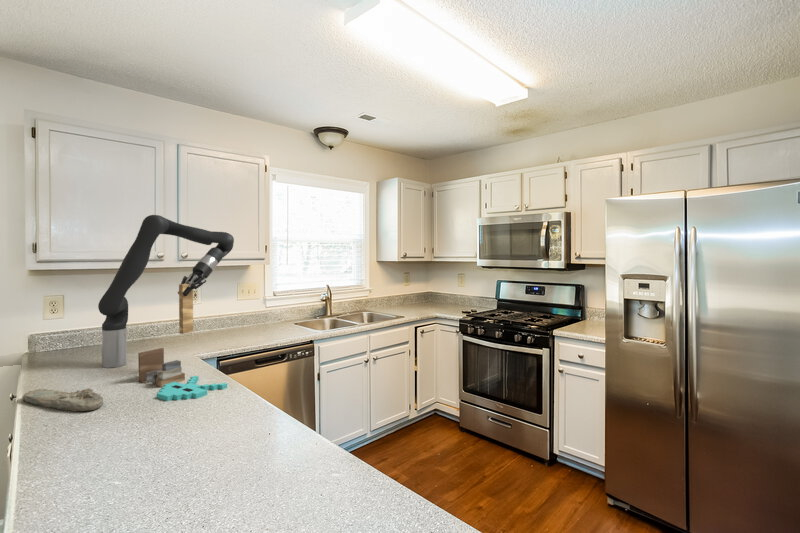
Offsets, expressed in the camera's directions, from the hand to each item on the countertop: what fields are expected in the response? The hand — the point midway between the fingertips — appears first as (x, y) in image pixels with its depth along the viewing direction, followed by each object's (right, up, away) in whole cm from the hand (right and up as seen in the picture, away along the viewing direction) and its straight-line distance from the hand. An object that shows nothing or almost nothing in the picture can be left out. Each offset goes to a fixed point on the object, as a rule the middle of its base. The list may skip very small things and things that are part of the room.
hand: (181, 294), depth 176 cm
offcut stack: (+3, -35, -14) cm, 38 cm away
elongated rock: (-22, -37, -36) cm, 56 cm away
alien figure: (+15, -37, -23) cm, 45 cm away
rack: (-5, -35, -10) cm, 37 cm away
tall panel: (+1, -17, +3) cm, 18 cm away
